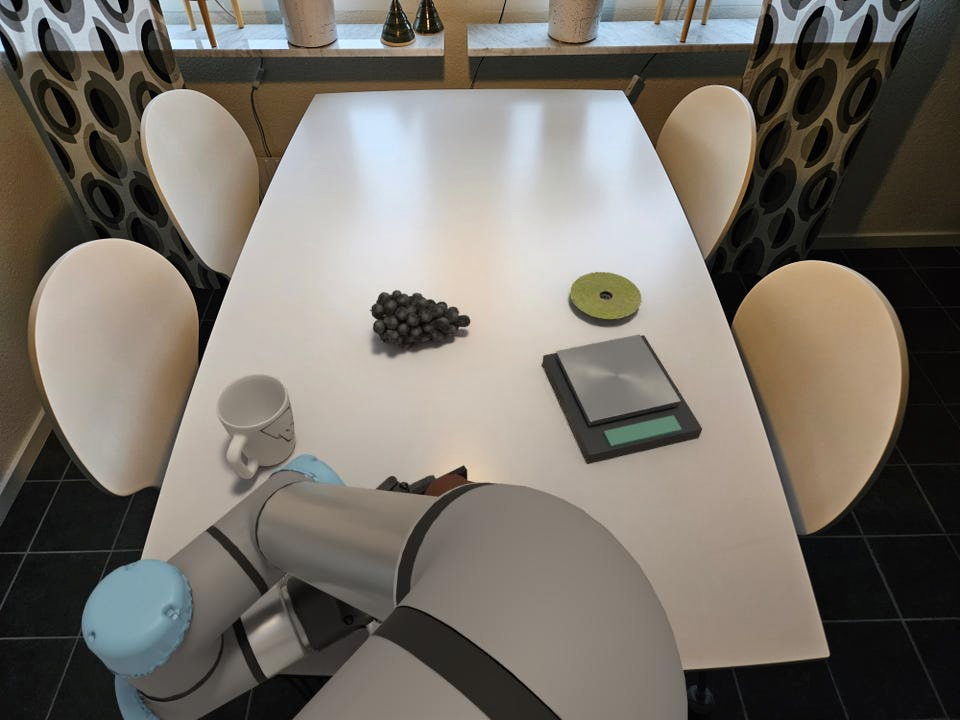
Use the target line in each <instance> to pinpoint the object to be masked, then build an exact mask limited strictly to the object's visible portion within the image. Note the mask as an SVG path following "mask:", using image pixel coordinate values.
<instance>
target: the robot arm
mask: <svg viewBox="0 0 960 720" xmlns="http://www.w3.org/2000/svg"><path fill="white" fill-rule="evenodd" d="M445 474H446V475H452V474H457V475H459V476H463V477H464V478H465V479H466V480H468V469H467V467H466V466H465V465H464V464H463V465H462V466H461V465H460V466H459V467H457V468H455V469H453V470H450V471H449V472H447V473H445ZM435 479H437V478H436V476H435V475H434V474H431V475H427V476H425V477H423V478H421V479H419V480H417V481H414V482H412V483H411V484H409V483H408V482H407V481H402V482H400V481H399V480H398V478H397V476H395V475H390V476H388V477H387V478H386V479H385V480H384V481H382V482H381V484H379V485H378V486H377V487H376V488H367V487H359V486H358V487H357V486H348V485H346V484H345V483H344V481H343V480H342V479H341V476H339V475H338V474H337V472H336V471H334V469H333V468H331V467H330V466H329V464H327V463H326V462H325V461H323V460H320V459H319V458H318V457H316V456H315V455H312V454H308V453H306V454H305V453H304V454H299V455H298V456H296V457H295V458H293V459H292V460H290V461H289V462H288V463H287V464H285V465H284V466H282V467H280V468H278V469H276V470H274V471H273V472H271V473H270V474H269V477H268V478H267V479H266V480H265V481H264V482H262V483H261V484H260V485H259V486H258V487H256V488H255V489H254V490H253V491H251V492H250V493H249V494H248V495H247V496H246V497H244V498H243V499H242V500H240V501H239V503H237V504H236V505H234V506H233V507H232V508H231V509H229V510H228V511H227V512H226V513H225V514H223V515H222V516H221V517H220V518H219V519H218V520H217V521H215V522H214V523H213V524H212V525H210V526H209V527H207V529H205V530H203V531H202V532H201V533H200V534H199V535H197V536H196V537H195V538H193V539H192V540H191V541H190V542H189V543H187V544H186V545H185V546H183V547H182V548H181V549H179V551H177V552H176V553H175V554H173V555H172V556H171V557H170V558H169V559H167V560H166V561H165V560H160V559H156V558H146V559H145V558H143V559H139V560H137V561H135V562H132V563H129V564H125V565H122V566H119V567H117V568H116V569H114V570H113V571H112V572H110V573H108V574H107V575H106V576H104V577H103V579H102V580H101V581H100V582H99V583H98V584H97V585H96V586H95V588H94V589H93V590H92V592H91V593H90V595H89V597H88V598H87V601H86V602H85V606H84V609H83V611H82V616H81V632H82V635H83V639H84V642H85V643H86V645H87V648H88V649H89V650H90V651H91V652H92V653H93V654H94V655H95V656H96V657H97V658H98V659H100V661H101V662H102V663H103V664H104V666H105V667H106V668H107V669H108V670H109V671H110V673H111V674H113V675H115V676H114V689H115V697H116V700H117V704H118V707H119V711H120V713H121V715H122V718H123V720H198V719H200V718H202V717H204V716H205V715H207V714H210V713H211V712H213V711H214V710H216V709H218V708H220V707H222V706H224V705H225V704H227V703H229V702H230V701H232V700H234V699H235V698H238V697H239V696H241V695H243V694H244V693H246V692H248V691H250V690H252V689H254V688H255V687H257V686H259V685H260V684H262V683H264V682H266V681H267V680H269V679H272V678H274V677H275V676H277V675H279V674H281V673H282V672H284V671H286V670H288V669H291V667H294V666H295V665H297V664H299V663H301V662H302V661H304V660H306V659H308V657H309V650H311V649H313V651H314V652H317V651H318V652H321V651H322V650H324V649H326V648H328V647H330V646H332V645H333V644H336V643H337V642H340V641H341V640H343V639H344V638H347V637H348V636H350V635H351V634H352V633H354V632H356V631H359V630H366V631H367V633H368V635H369V636H368V638H367V639H366V640H365V641H364V642H363V643H362V644H361V645H360V646H359V648H358V649H357V650H356V651H355V652H354V653H353V654H352V655H351V656H350V657H349V658H348V660H347V661H345V663H344V664H343V665H342V666H341V667H340V668H339V669H338V670H337V671H336V672H335V673H334V674H333V676H331V678H330V679H329V680H328V681H326V683H325V684H324V685H323V686H322V687H321V688H320V689H319V691H317V693H316V694H315V695H314V696H313V697H312V698H311V699H310V700H309V701H308V702H307V703H306V704H305V706H304V707H302V708H301V710H300V711H299V712H298V713H297V714H296V715H295V716H294V717H293V718H292V720H688V714H689V713H688V705H689V704H688V703H689V702H688V694H687V685H686V677H685V671H684V668H683V664H682V660H681V656H680V652H679V647H678V645H677V641H676V637H675V633H674V631H673V628H672V625H671V622H670V620H669V617H668V615H667V612H666V610H665V608H664V606H663V604H662V602H661V600H660V598H659V596H658V594H657V593H656V590H655V589H654V587H653V585H652V583H651V582H650V580H649V577H648V576H647V575H646V573H645V572H644V570H643V569H642V567H641V565H640V564H639V562H638V561H637V560H636V559H635V558H634V556H633V555H632V554H631V553H630V552H629V550H628V549H627V548H626V547H625V546H624V545H623V544H622V543H621V542H620V541H619V539H618V538H617V537H616V536H615V535H614V534H613V533H612V532H611V531H610V530H609V529H608V528H607V527H606V526H605V525H603V524H602V523H601V522H599V521H598V520H597V519H595V518H594V517H593V516H592V515H590V514H589V513H587V512H586V511H585V510H583V509H582V508H581V507H579V506H577V505H575V504H573V503H572V502H569V501H567V500H566V499H564V498H561V497H560V496H556V495H554V494H551V493H549V492H546V491H543V490H541V489H537V488H533V487H530V486H527V485H518V484H509V483H496V482H480V483H470V484H465V485H462V486H458V487H456V488H454V489H451V490H449V491H447V492H446V493H444V494H443V495H441V496H439V497H434V496H426V495H424V493H425V492H426V490H427V489H428V487H429V485H430V484H431V482H432V481H434V480H435ZM286 575H290V576H289V577H288V578H287V580H286V581H285V584H286V585H284V586H283V587H282V586H281V585H280V584H279V582H280V581H281V580H282V579H283V578H284V577H285V576H286ZM379 621H381V623H379Z"/></svg>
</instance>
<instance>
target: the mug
mask: <svg viewBox="0 0 960 720" xmlns="http://www.w3.org/2000/svg"><path fill="white" fill-rule="evenodd" d="M215 411H216V415H217V418H218V419H219V422H220V423H221V425H222V426H223V428H224V430H225V431H226V432H227V434H228V436H229V437H230V439H231V441H230V443H229V445H228V448H227V450H226V455H225V457H226V462H227V464H228V466H229V467H230V468H231V469H232V470H233V471H234V472H235V473H236V474H237V475H238V476H239V477H240V478H241V479H247V480H250V479H252V478H253V477H254V476H255V475H256V473H257V471H258V468H259V466H261V467H272V466H276V465H278V464H280V463H282V462H284V461H286V460H287V459H288V458H289V457H290V455H291V454H292V453H293V451H294V449H295V444H296V434H295V433H296V432H295V420H294V419H295V418H294V413H293V408H292V404H291V399H290V395H289V392H288V389H287V387H286V385H285V384H284V383H283V382H282V380H280V378H278V377H277V376H273V375H270V374H267V373H252V374H248V375H244V376H241V377H238V378H236V379H235V380H233V381H231V382H230V383H229V384H227V385H226V386H225V387H224V388H223V389H222V391H220V393H219V394H218V397H217V399H216V404H215ZM242 454H244V456H245V457H246V458H247V463H246V464H245V463H244V462H243V460H242Z"/></svg>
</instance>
